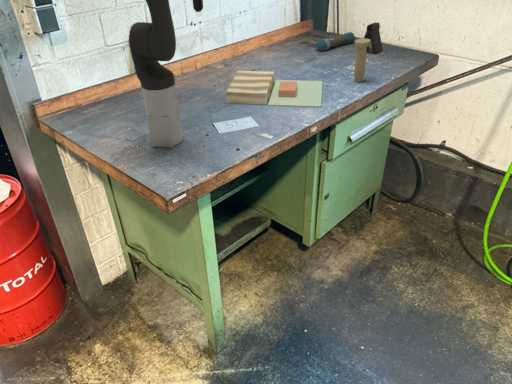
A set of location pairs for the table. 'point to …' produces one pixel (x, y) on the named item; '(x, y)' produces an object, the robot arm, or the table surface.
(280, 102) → the mat
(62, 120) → the table surface
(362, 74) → the handle
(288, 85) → the salmon orange block
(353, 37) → the flashlight
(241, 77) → the deck
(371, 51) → the phone stand
